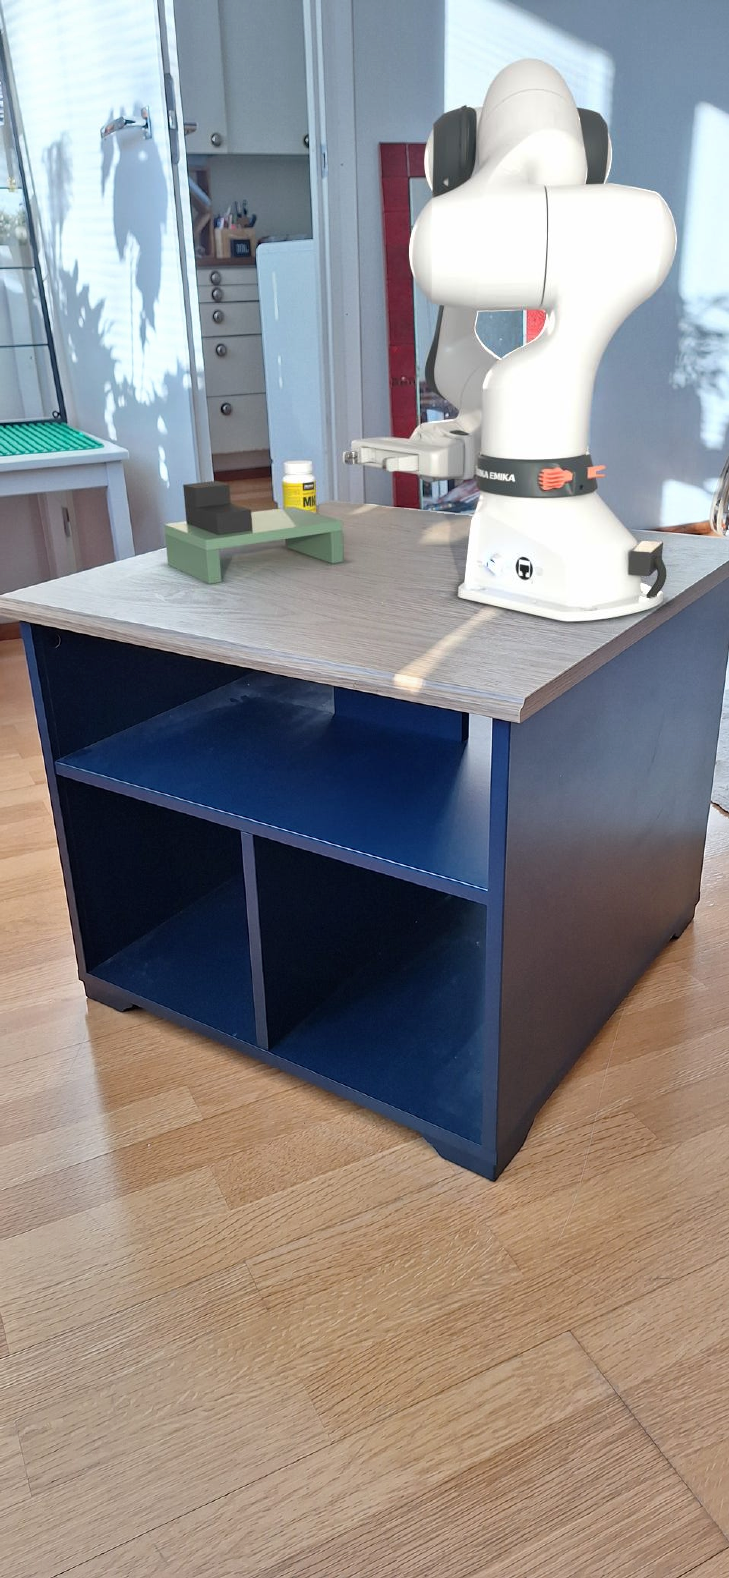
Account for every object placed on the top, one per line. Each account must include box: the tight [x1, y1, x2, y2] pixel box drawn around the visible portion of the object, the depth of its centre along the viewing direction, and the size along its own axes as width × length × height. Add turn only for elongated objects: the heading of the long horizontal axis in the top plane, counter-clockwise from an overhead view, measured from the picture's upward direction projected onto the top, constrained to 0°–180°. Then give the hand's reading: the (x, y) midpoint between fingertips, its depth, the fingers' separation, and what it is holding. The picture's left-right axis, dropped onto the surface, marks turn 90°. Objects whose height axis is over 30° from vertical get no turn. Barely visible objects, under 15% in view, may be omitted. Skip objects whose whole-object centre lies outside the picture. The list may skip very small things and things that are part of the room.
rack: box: [163, 507, 344, 585], centre depth 135 cm, size 12×18×5 cm, turn 122°
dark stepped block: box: [182, 480, 252, 535], centre depth 131 cm, size 9×4×5 cm, turn 32°
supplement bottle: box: [281, 459, 318, 514], centre depth 158 cm, size 5×5×8 cm
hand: (364, 461), depth 163 cm, fingers open, 8 cm apart
